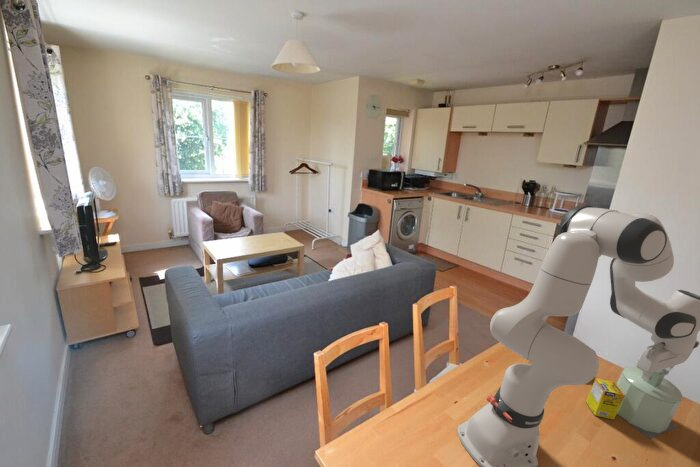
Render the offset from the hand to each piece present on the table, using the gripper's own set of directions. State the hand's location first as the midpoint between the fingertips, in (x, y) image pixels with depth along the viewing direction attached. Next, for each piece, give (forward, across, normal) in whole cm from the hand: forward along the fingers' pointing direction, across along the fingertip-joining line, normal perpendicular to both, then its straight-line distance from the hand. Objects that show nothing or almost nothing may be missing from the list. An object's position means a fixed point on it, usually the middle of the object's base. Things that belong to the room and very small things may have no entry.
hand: (654, 376), depth 101 cm
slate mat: (+16, 0, 0) cm, 16 cm away
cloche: (+15, 0, 0) cm, 15 cm away
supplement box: (+16, -12, +4) cm, 20 cm away
